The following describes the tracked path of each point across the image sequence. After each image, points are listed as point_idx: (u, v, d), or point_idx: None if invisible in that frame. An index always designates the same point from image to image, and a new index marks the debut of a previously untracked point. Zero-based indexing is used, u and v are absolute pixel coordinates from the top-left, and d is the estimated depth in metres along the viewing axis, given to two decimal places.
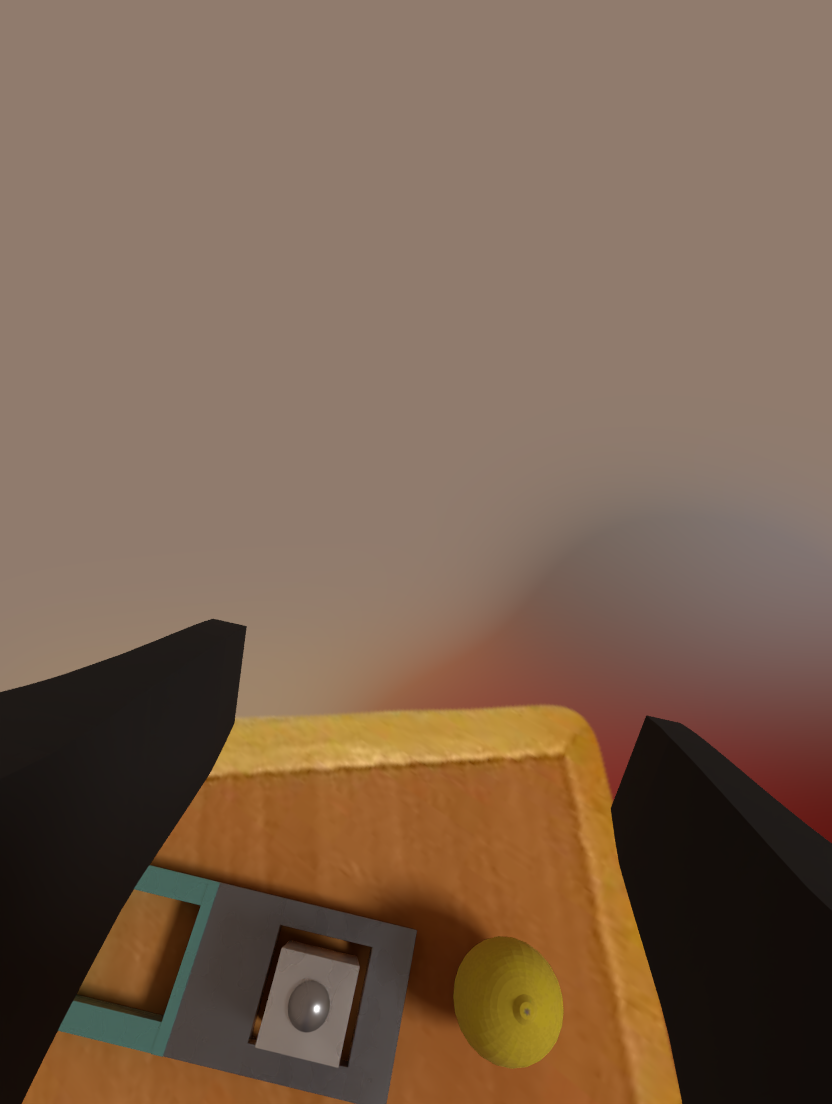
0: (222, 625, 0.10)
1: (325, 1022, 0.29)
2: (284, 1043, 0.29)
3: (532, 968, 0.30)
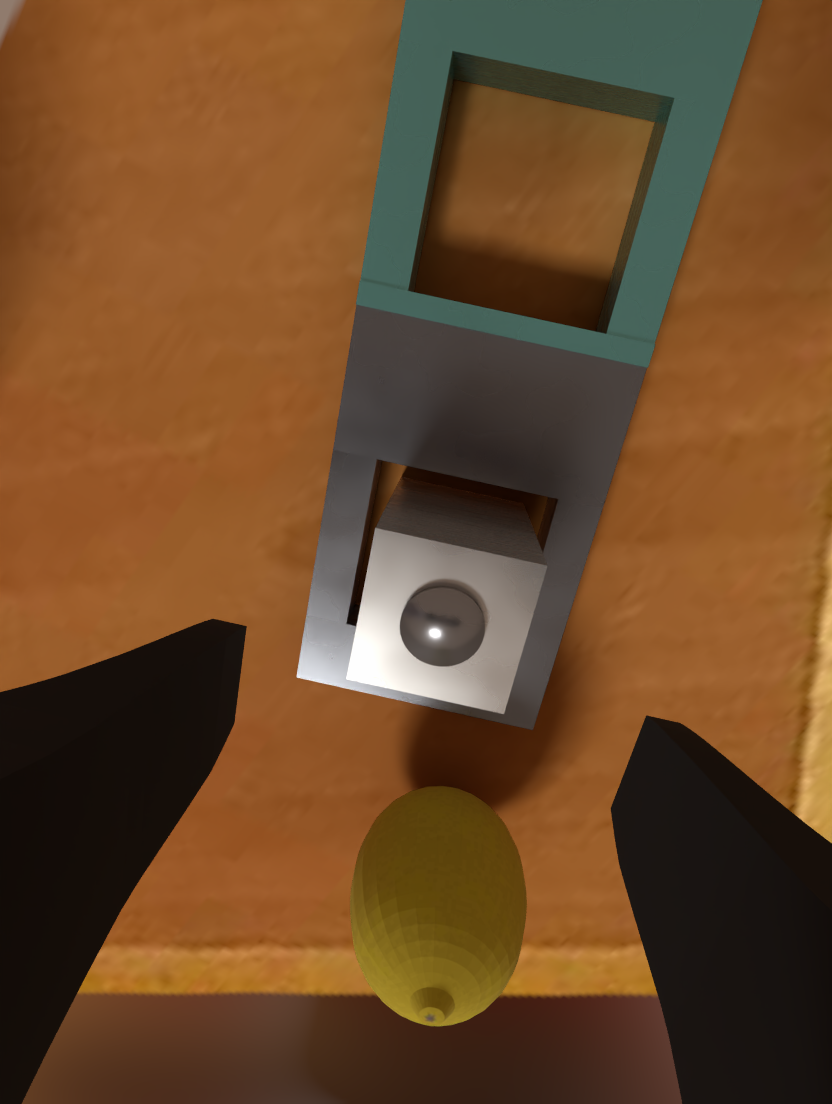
0: (222, 625, 0.10)
1: (414, 654, 0.15)
2: (381, 583, 0.14)
3: (489, 1002, 0.17)
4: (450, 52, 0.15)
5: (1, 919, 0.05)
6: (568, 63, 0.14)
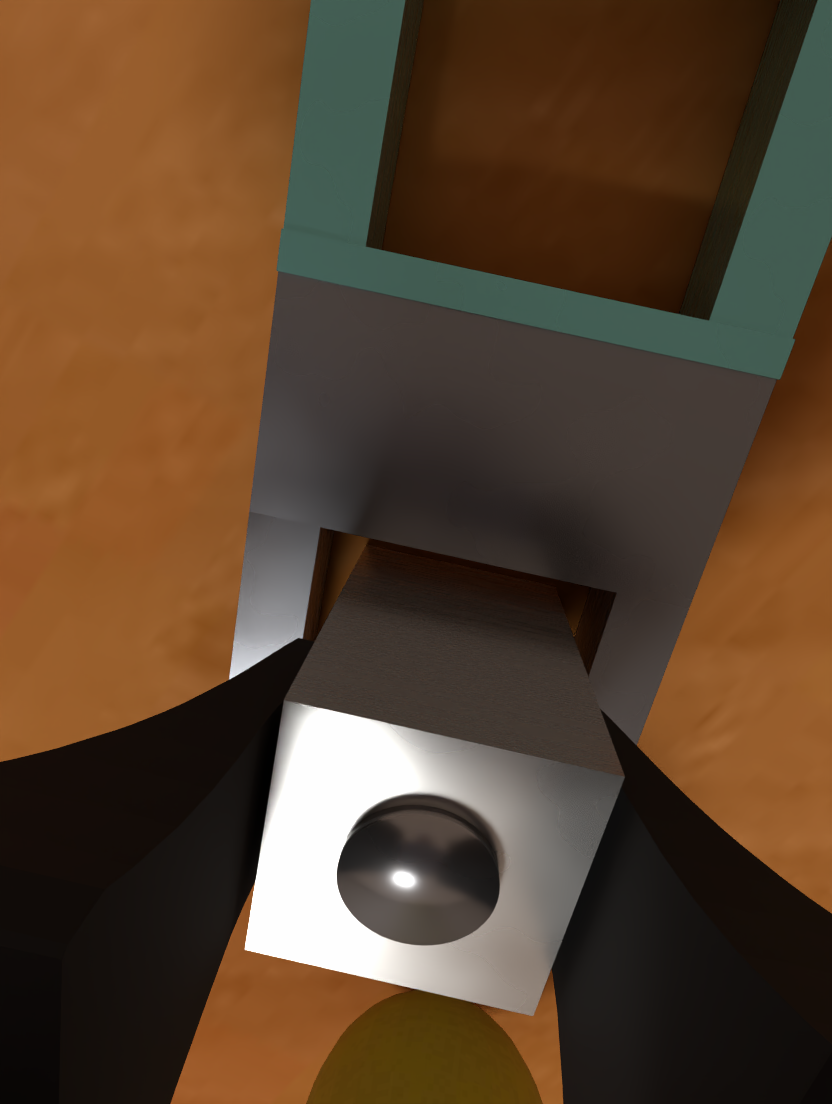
0: (310, 645, 0.10)
1: (368, 917, 0.08)
2: (301, 796, 0.07)
3: None
4: None
5: (169, 957, 0.05)
6: None
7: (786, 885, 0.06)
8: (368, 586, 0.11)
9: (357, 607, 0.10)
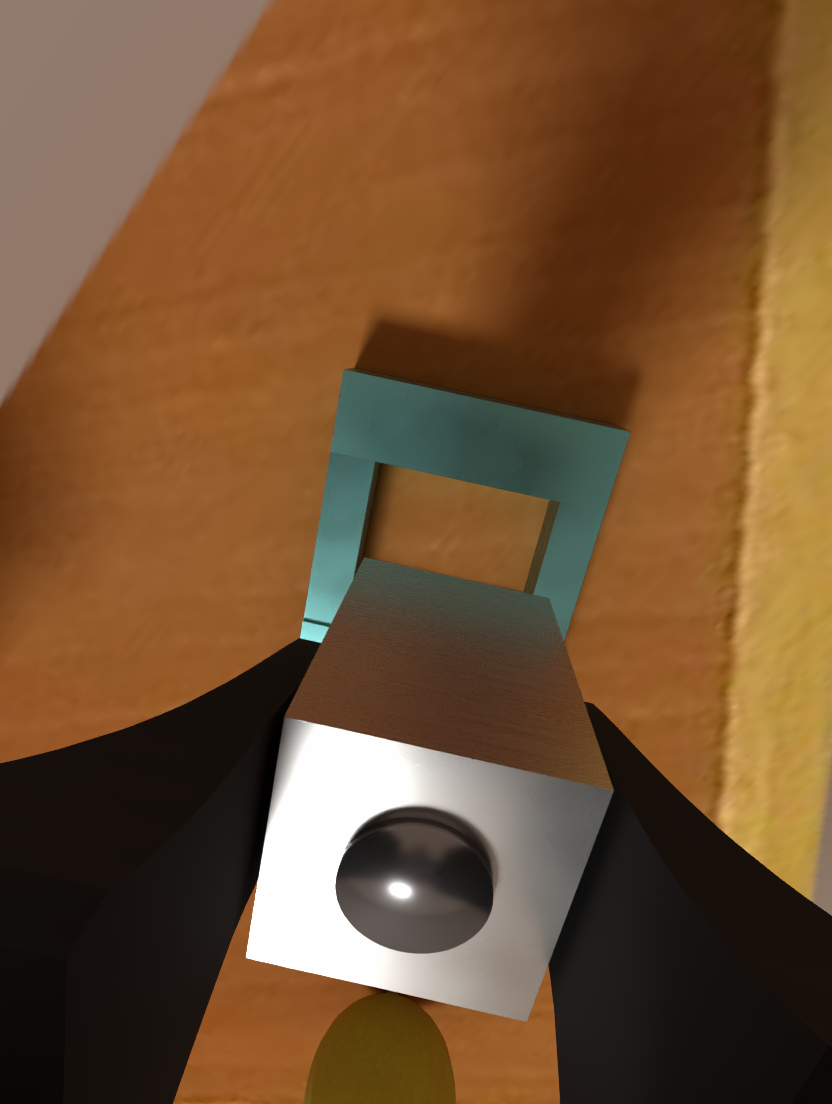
0: (311, 645, 0.10)
1: (366, 925, 0.08)
2: (301, 810, 0.08)
3: None
4: (373, 462, 0.17)
5: (172, 958, 0.05)
6: (471, 474, 0.17)
7: (782, 885, 0.06)
8: (366, 600, 0.11)
9: (355, 622, 0.10)
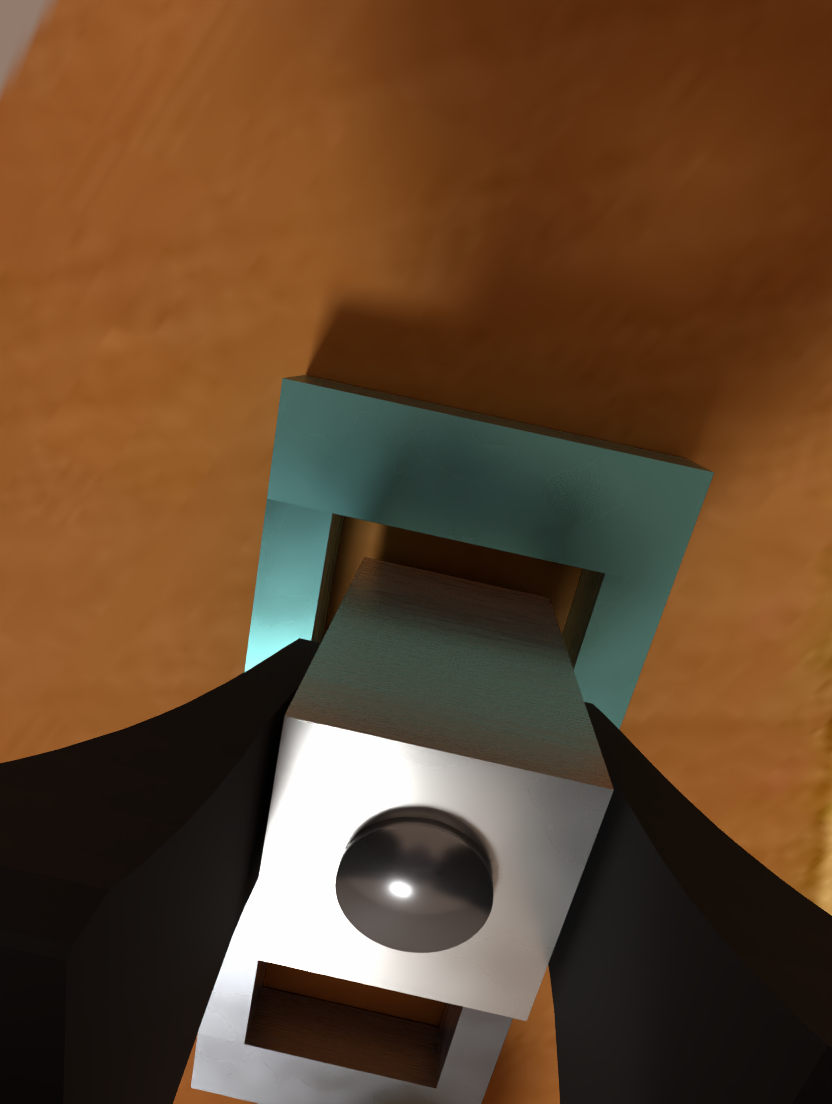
0: (311, 645, 0.10)
1: (366, 925, 0.08)
2: (301, 809, 0.08)
3: None
4: (329, 515, 0.12)
5: (171, 958, 0.05)
6: (474, 532, 0.12)
7: (782, 885, 0.06)
8: (366, 600, 0.11)
9: (355, 621, 0.10)
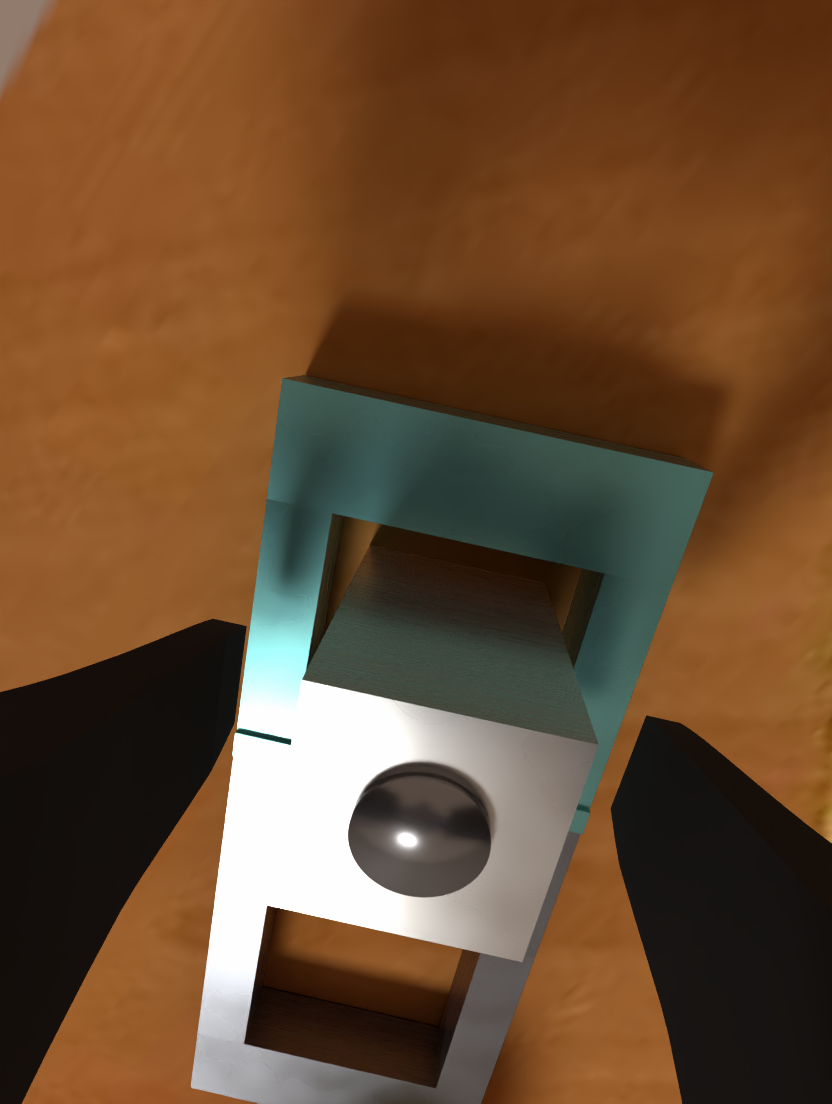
0: (222, 625, 0.10)
1: (375, 873, 0.09)
2: (316, 765, 0.09)
3: None
4: (329, 515, 0.12)
5: (1, 919, 0.05)
6: (473, 532, 0.12)
7: None
8: (372, 582, 0.12)
9: (363, 601, 0.11)
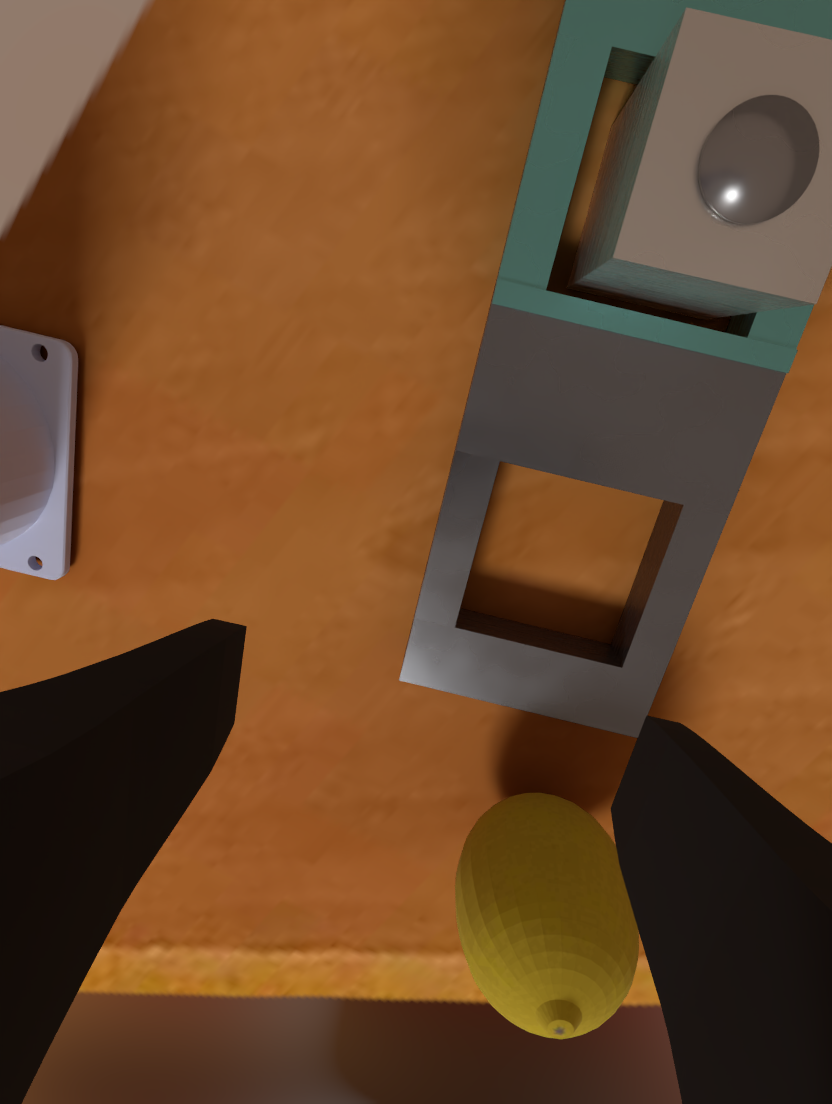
0: (222, 625, 0.10)
1: (710, 214, 0.11)
2: (682, 99, 0.11)
3: (611, 1015, 0.17)
4: (609, 48, 0.14)
5: (1, 919, 0.05)
6: None
7: None
8: None
9: None
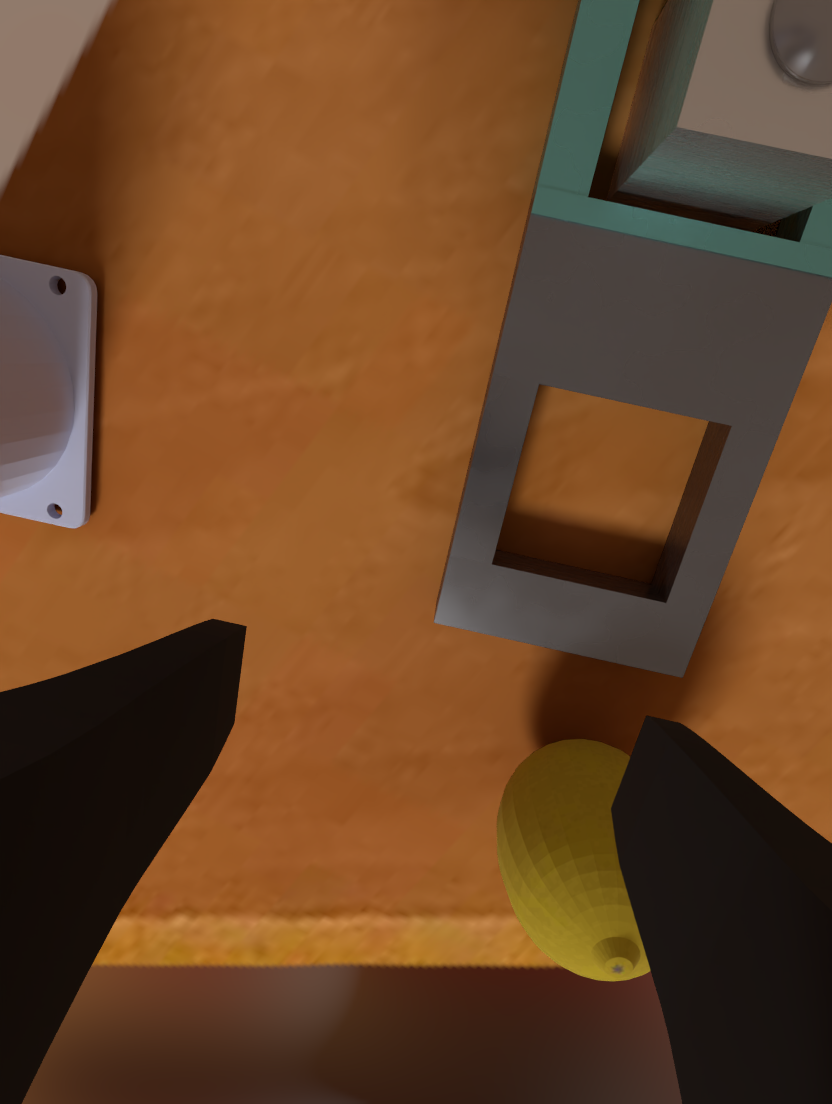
0: (222, 625, 0.10)
1: (782, 74, 0.11)
2: None
3: None
4: None
5: (1, 919, 0.05)
6: None
7: None
8: None
9: None
